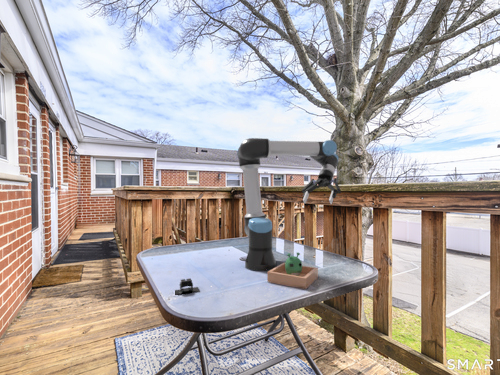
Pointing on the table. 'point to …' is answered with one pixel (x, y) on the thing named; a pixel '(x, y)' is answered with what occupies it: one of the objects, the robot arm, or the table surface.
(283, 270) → the planter tray
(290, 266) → the alien toy
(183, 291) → the black box
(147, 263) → the table surface
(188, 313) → the table surface
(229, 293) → the table surface
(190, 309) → the table surface
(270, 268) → the robot arm
